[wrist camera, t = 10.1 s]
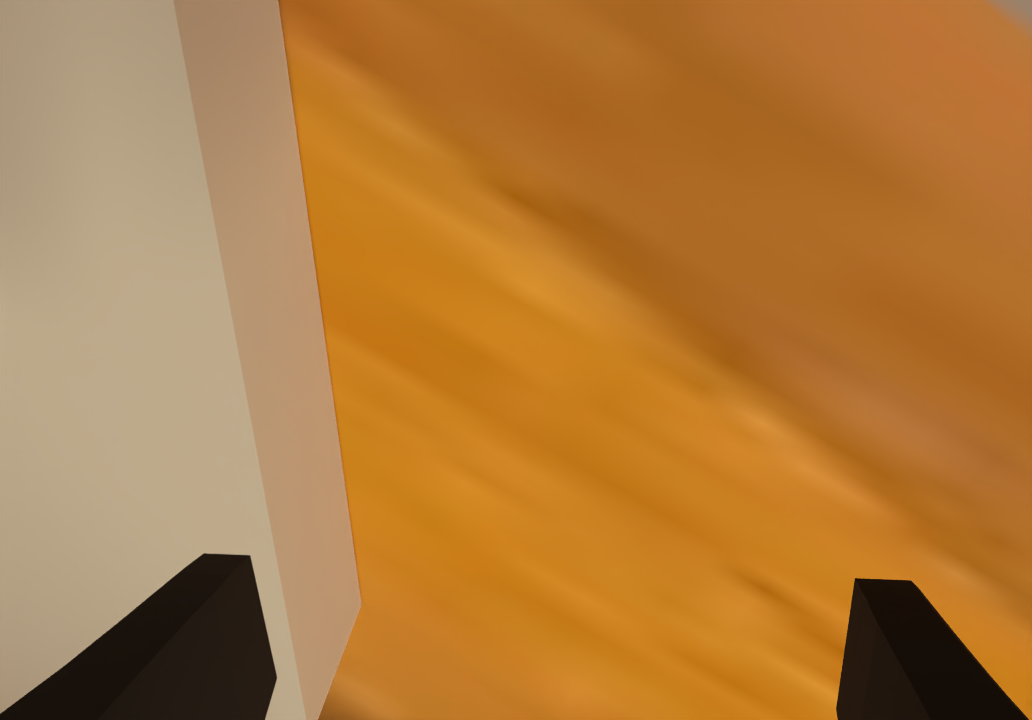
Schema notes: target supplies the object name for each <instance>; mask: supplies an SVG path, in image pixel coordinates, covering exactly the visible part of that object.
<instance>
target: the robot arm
mask: <svg viewBox="0 0 1032 720" xmlns="http://www.w3.org/2000/svg"><path fill="white" fill-rule="evenodd" d="M276 681H277V674H276V670H275V665H274V661H273V656H272V652H271V647H270V643H269V638H268V633H267V629H266V624H265V620H264V615H263V611H262V606H261V602H260V597H259V592H258V588H257V583H256V579H255V574H254V570H253V565H252V561H251V556H250V555H234V554H208V553H203V554H202V555H201V556H199V557H198V558H197V559H195V560H194V561H193V562H192V563H190V564H189V565H188V566H186V567H185V568H184V569H183V570H181V571H180V572H179V573H178V574H176V575H175V576H174V577H173V578H171V579H170V580H169V581H168V582H167V583H165V584H164V585H163V586H162V587H160V588H159V589H158V590H157V591H156V592H154V593H153V594H152V595H151V596H150V597H148V598H147V599H146V600H145V601H144V602H142V603H141V604H140V605H139V606H137V607H136V608H135V609H134V610H133V611H131V612H130V613H129V614H128V615H127V616H125V617H124V618H123V619H122V620H120V621H119V622H118V623H117V624H116V625H114V626H113V627H112V628H111V629H109V630H108V631H107V632H106V633H104V634H103V635H102V636H101V637H99V638H98V639H97V640H96V641H94V642H93V643H92V644H91V645H89V646H88V647H87V648H86V649H85V650H83V651H82V652H81V653H80V654H78V655H77V656H76V657H75V658H73V659H72V660H71V661H70V662H68V663H67V664H66V665H65V666H63V667H62V668H61V669H59V670H58V671H57V672H55V673H54V674H53V675H51V676H50V677H49V678H47V679H46V680H45V681H43V682H42V683H41V684H39V685H38V686H37V687H35V688H34V689H33V690H31V691H30V692H28V693H27V694H26V695H24V696H23V697H22V698H20V699H19V700H18V701H16V702H15V703H14V704H12V705H11V706H10V707H8V708H7V709H6V710H4V711H3V712H2V713H0V720H265V718H266V715H267V711H268V708H269V705H270V701H271V698H272V694H273V691H274V687H275V684H276ZM836 710H837V717H838V720H1029V719H1028V718H1027V717H1026V716H1025V715H1024V714H1023V712H1022V711H1021V710H1020V709H1019V708H1018V707H1017V706H1016V705H1015V704H1014V702H1013V701H1012V700H1011V699H1010V698H1009V697H1008V696H1007V695H1006V694H1005V692H1004V691H1003V690H1002V689H1001V688H1000V687H999V685H998V684H997V683H996V682H995V681H994V680H993V678H992V677H991V676H990V675H989V674H988V673H987V671H986V670H985V669H984V668H983V667H982V665H981V664H980V663H979V662H978V661H977V659H976V658H975V657H974V656H973V655H972V653H971V652H970V651H969V650H968V649H967V647H966V646H965V645H964V644H963V643H962V641H961V640H960V639H959V638H958V637H957V635H956V634H955V633H954V632H953V630H952V629H951V628H950V627H949V625H948V624H947V623H946V622H945V620H944V619H943V618H942V617H941V616H940V614H939V613H938V612H937V611H936V609H935V608H934V607H933V606H932V604H931V603H930V602H929V601H928V599H927V598H926V597H925V596H924V594H923V593H922V592H921V591H920V589H919V588H918V587H917V586H916V585H915V584H914V583H913V582H912V581H909V580H883V579H857V578H855V582H854V589H853V596H852V603H851V610H850V617H849V624H848V631H847V638H846V645H845V652H844V659H843V665H842V672H841V679H840V686H839V693H838V700H837V707H836Z"/></svg>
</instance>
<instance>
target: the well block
mask: <svg viewBox="0 0 1032 720" xmlns="http://www.w3.org/2000/svg"><path fill="white" fill-rule="evenodd" d="M203 553H208V554H234V555H250V556H251V561H252V565H253V570H254V574H255V579H256V583H257V588H258V592H259V597H260V602H261V606H262V611H263V615H264V620H265V624H266V629H267V633H268V638H269V643H270V647H271V652H272V656H273V661H274V665H275V670H276V674H277V681H276V684H275V687H274V691H273V694H272V698H271V701H270V705H269V708H268V711H267V715H266V718H265V720H318V718H319V716H320V713H321V710H322V708H323V705H324V702H325V700H326V697H327V695H328V692H329V689H330V687H331V684H332V681H333V679H334V676H335V673H336V671H337V668H338V665H339V663H340V660H341V657H342V655H343V652H344V650H345V647H346V644H347V642H348V639H349V636H350V634H351V631H352V628H353V626H354V623H355V620H356V618H357V615H358V612H359V610H360V607H361V597H360V590H359V582H358V575H357V568H356V561H355V553H354V546H353V539H352V532H351V524H350V517H349V510H348V503H347V495H346V488H345V481H344V474H343V466H342V459H341V452H340V445H339V437H338V430H337V423H336V416H335V409H334V401H333V394H332V387H331V380H330V372H329V365H328V358H327V351H326V343H325V336H324V329H323V322H322V314H321V307H320V300H319V293H318V285H317V278H316V271H315V264H314V256H313V249H312V242H311V235H310V227H309V220H308V213H307V206H306V198H305V191H304V184H303V177H302V169H301V162H300V155H299V148H298V140H297V133H296V126H295V119H294V111H293V104H292V97H291V90H290V82H289V75H288V68H287V61H286V54H285V46H284V39H283V32H282V25H281V17H280V10H279V3H278V0H0V713H2V712H3V711H4V710H6V709H7V708H8V707H10V706H11V705H12V704H14V703H15V702H16V701H18V700H19V699H20V698H22V697H23V696H24V695H26V694H27V693H28V692H30V691H31V690H33V689H34V688H35V687H37V686H38V685H39V684H41V683H42V682H43V681H45V680H46V679H47V678H49V677H50V676H51V675H53V674H54V673H55V672H57V671H58V670H59V669H61V668H62V667H63V666H65V665H66V664H67V663H68V662H70V661H71V660H72V659H73V658H75V657H76V656H77V655H78V654H80V653H81V652H82V651H83V650H85V649H86V648H87V647H88V646H89V645H91V644H92V643H93V642H94V641H96V640H97V639H98V638H99V637H101V636H102V635H103V634H104V633H106V632H107V631H108V630H109V629H111V628H112V627H113V626H114V625H116V624H117V623H118V622H119V621H120V620H122V619H123V618H124V617H125V616H127V615H128V614H129V613H130V612H131V611H133V610H134V609H135V608H136V607H137V606H139V605H140V604H141V603H142V602H144V601H145V600H146V599H147V598H148V597H150V596H151V595H152V594H153V593H154V592H156V591H157V590H158V589H159V588H160V587H162V586H163V585H164V584H165V583H167V582H168V581H169V580H170V579H171V578H173V577H174V576H175V575H176V574H178V573H179V572H180V571H181V570H183V569H184V568H185V567H186V566H188V565H189V564H190V563H192V562H193V561H194V560H195V559H197V558H198V557H199V556H201V555H202V554H203Z"/></svg>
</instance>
